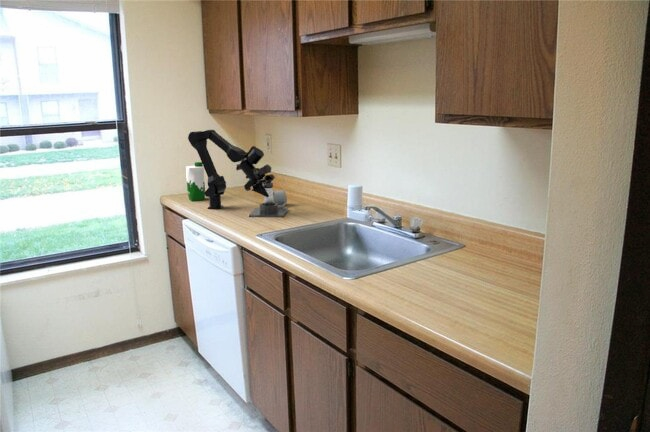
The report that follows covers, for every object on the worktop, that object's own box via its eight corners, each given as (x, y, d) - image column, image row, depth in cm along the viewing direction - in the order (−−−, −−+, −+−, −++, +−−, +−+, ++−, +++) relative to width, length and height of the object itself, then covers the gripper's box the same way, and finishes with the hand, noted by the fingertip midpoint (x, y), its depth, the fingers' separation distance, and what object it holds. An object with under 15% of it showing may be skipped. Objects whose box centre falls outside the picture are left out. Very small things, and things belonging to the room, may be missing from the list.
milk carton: (206, 200, 276) (204, 163, 272) (189, 201, 273) (187, 164, 268) (203, 197, 284) (201, 161, 280) (186, 199, 280) (184, 162, 276)
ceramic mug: (267, 204, 263) (266, 189, 262) (282, 203, 266) (282, 188, 265) (273, 209, 254) (273, 193, 252) (289, 207, 257) (289, 192, 255)
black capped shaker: (263, 208, 244) (262, 182, 241) (271, 208, 246) (271, 182, 243) (265, 210, 240) (265, 184, 237) (274, 209, 242) (274, 183, 239)
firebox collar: (255, 209, 252) (255, 200, 251) (288, 209, 251) (288, 201, 250) (248, 216, 236) (248, 207, 235) (283, 217, 235) (283, 207, 234)
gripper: (248, 161, 231) (270, 187, 229) (270, 157, 248) (291, 181, 245) (235, 177, 236) (256, 203, 234) (257, 172, 253) (277, 196, 251)
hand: (270, 195), depth 241 cm, fingers closed on black capped shaker, 4 cm apart
